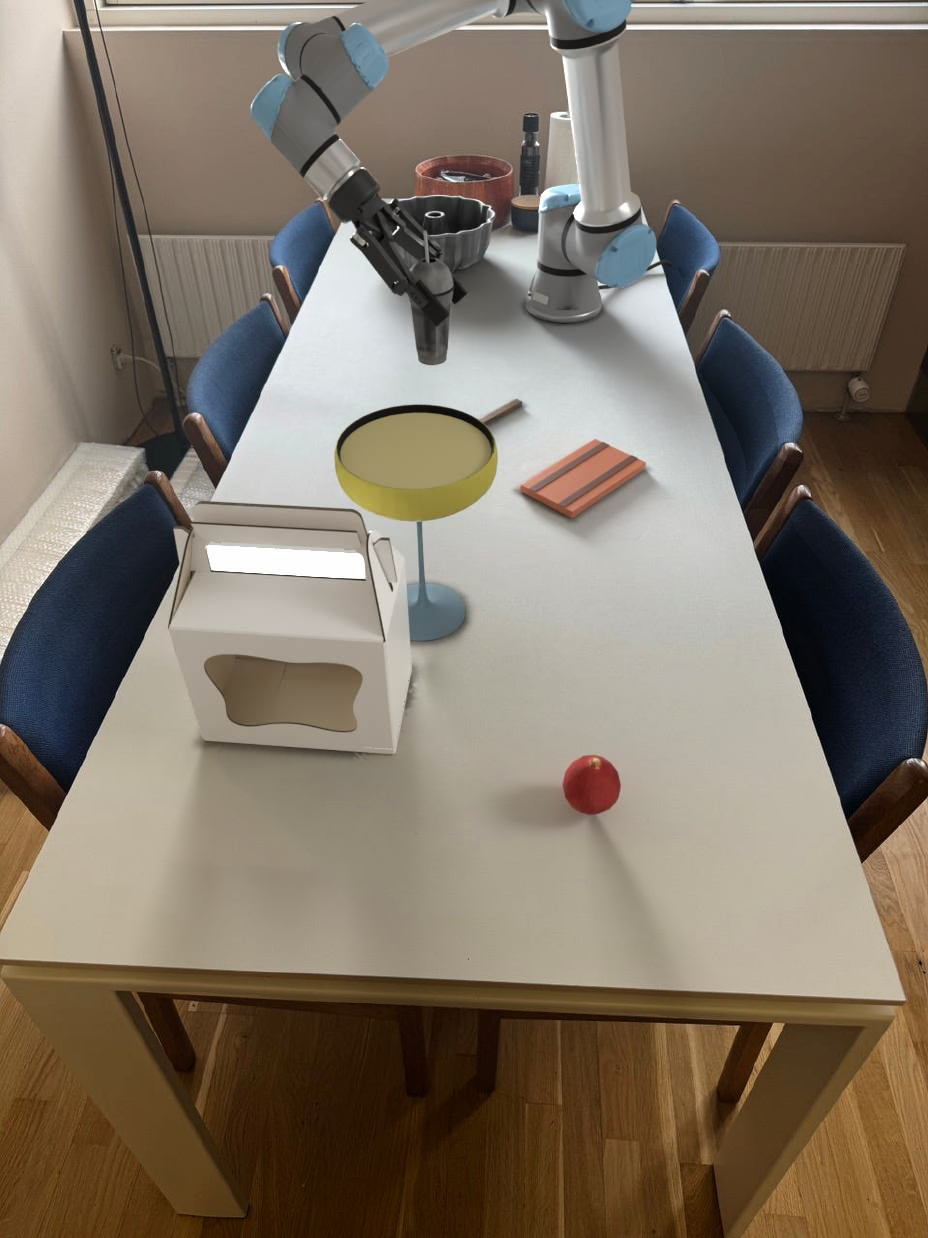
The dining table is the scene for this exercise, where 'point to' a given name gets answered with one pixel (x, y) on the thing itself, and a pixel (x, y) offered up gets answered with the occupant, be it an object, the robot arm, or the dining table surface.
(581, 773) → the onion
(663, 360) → the dining table surface
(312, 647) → the gable box
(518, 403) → the spatula
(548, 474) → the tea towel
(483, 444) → the cocktail glass
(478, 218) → the bundt pan
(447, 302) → the beverage cup
